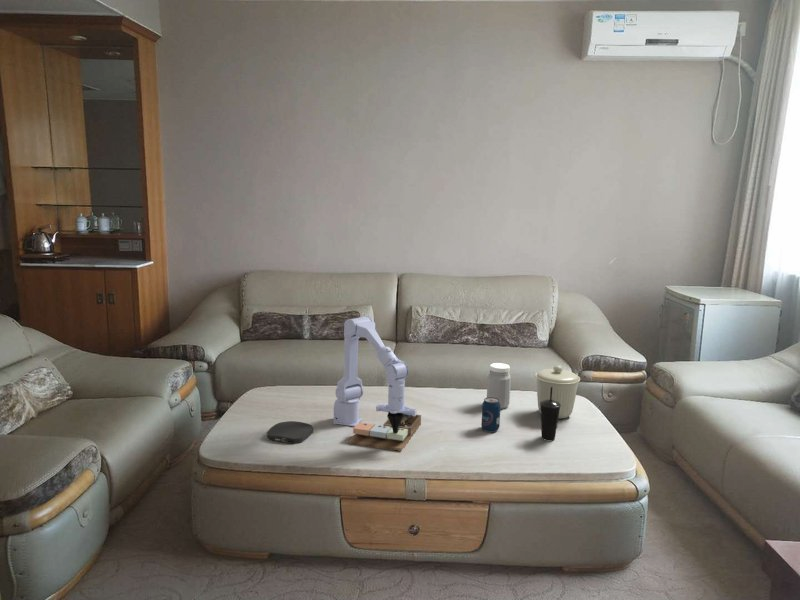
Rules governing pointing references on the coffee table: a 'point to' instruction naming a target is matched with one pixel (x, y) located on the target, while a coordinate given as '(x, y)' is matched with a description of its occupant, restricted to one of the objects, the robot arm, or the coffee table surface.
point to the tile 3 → (397, 434)
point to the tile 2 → (379, 431)
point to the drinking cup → (549, 417)
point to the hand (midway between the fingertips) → (395, 432)
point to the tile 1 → (363, 428)
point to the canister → (557, 388)
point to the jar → (499, 383)
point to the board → (386, 442)
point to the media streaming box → (290, 432)
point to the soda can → (490, 414)
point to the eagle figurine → (404, 420)
